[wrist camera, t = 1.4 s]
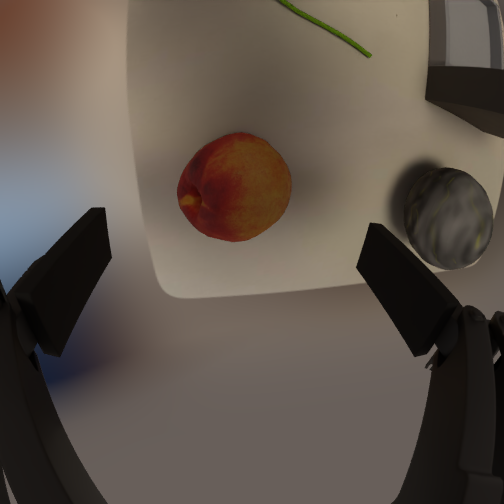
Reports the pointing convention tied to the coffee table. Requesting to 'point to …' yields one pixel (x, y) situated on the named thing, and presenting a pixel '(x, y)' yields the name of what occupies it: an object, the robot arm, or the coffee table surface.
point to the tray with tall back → (467, 62)
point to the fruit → (235, 188)
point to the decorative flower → (326, 27)
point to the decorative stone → (448, 218)
